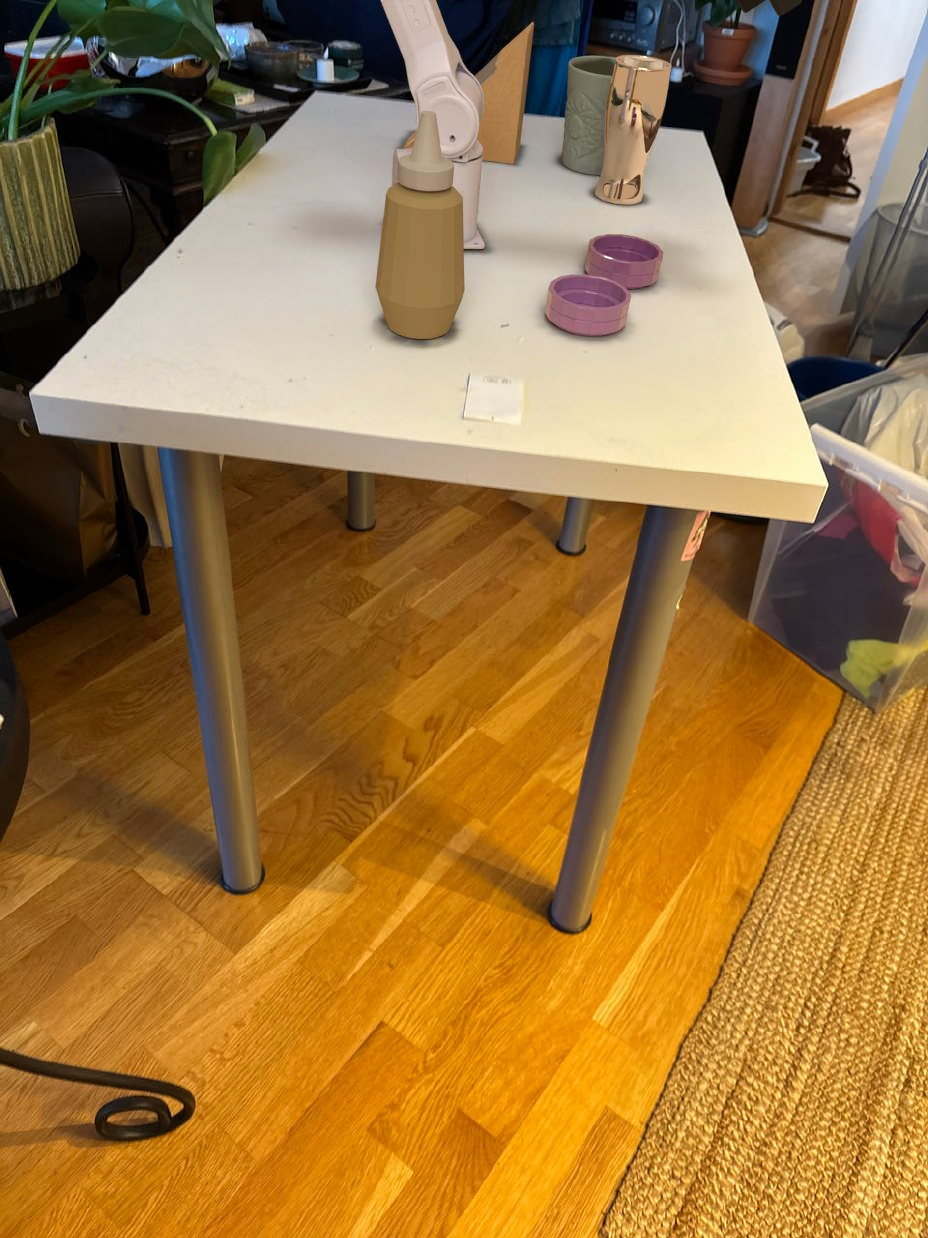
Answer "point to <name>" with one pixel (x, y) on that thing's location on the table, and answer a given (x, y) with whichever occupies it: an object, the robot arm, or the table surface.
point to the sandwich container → (503, 100)
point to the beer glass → (631, 125)
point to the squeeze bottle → (422, 241)
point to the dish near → (587, 304)
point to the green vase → (586, 113)
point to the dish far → (624, 260)
